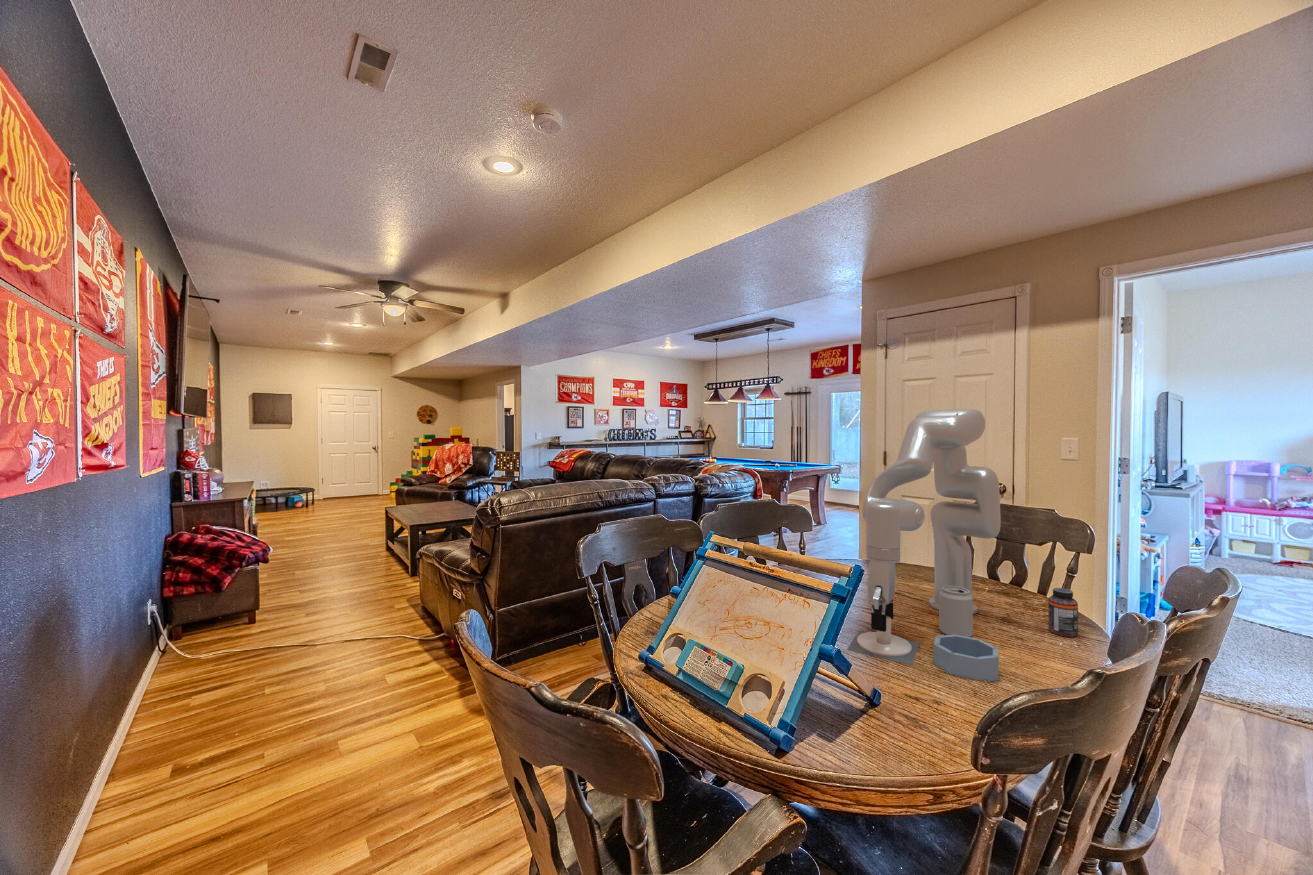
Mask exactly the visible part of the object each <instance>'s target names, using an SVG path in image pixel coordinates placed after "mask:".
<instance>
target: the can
mask: <svg viewBox="0 0 1313 875" xmlns="http://www.w3.org/2000/svg"><path fill="white" fill-rule="evenodd" d="M969 593H970V591H969V590H968V589H965V588H962V587H958V586H943V587H942V590H941V591H940V592H939V610H938V626H939V627H938V629H939V631H940V632H942V634H944V635H953V634H955V635H960V636H965V637H971V638H972V637H973V634H974V628H973V627H974V614H973V603H974V602H973V601H974V597H973V595H972V596H971V595H970V594H969Z"/></svg>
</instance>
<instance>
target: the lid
mask: <svg viewBox="0 0 1313 875" xmlns="http://www.w3.org/2000/svg"><path fill="white" fill-rule="evenodd" d="M907 640H908V639H905V638H902V637H901V636H898V635H896V634H892V619H891V618H890V617H889V616H886V631H885V632H883V631H878V630H876V631H867V632H866V633H862V634H860V635H859V636H858V637H857V643H858V645H859V646H860V647H861V648H862V649H863V650H865V651H867V652H870V653H872V654H876V655H880V656H885V657H904V656H907V655H909V654H910V653H911V644H910V643H909V642H908V641H907Z"/></svg>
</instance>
